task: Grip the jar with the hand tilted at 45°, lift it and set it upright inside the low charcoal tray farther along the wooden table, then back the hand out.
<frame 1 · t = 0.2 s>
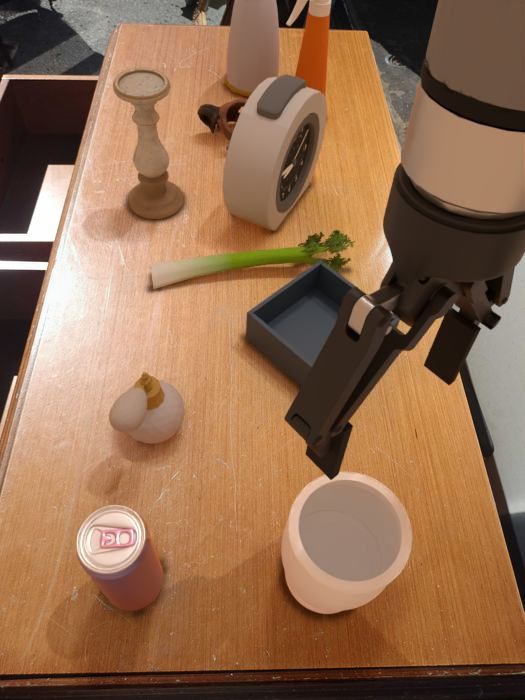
hand: (384, 416, 44), 23 cm above the dresser, tool pointing down, fingers open, 13 cm apart
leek: (253, 274, 83), on the dresser
perfume bottle: (155, 433, 68), on the dresser
soap bottle: (252, 84, 113), on the dresser
jar: (323, 572, 59), on the dresser
tray: (318, 341, 77), on the dresser
spray bottle: (298, 120, 107), on the dresser
candle holder: (156, 202, 91), on the dresser
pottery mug: (230, 139, 102), on the dresser
beverage can: (135, 581, 58), on the dresser
alarm clock: (272, 200, 93), on the dresser
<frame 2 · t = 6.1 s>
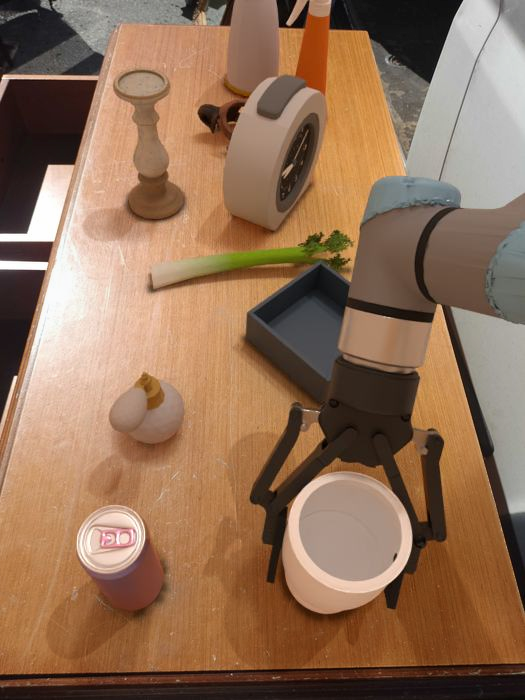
hand: (329, 587, 53), 6 cm above the dresser, tool tilted 45°, fingers closed on jar, 11 cm apart
jar: (324, 572, 59), on the dresser, touching gripper
everything else where it was.
when the fingers open (7 cm above the dresser, at t = 17.6 s): jar stays where it is, resting on tray.
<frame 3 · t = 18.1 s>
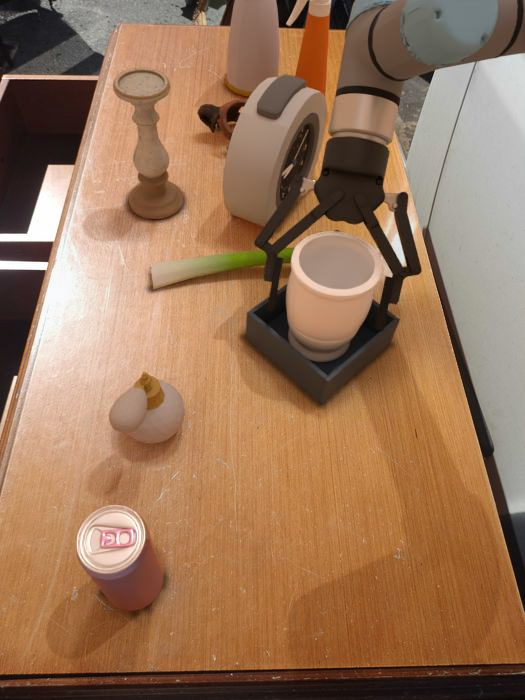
hand: (324, 319, 69), 8 cm above the dresser, tool tilted 45°, fingers open, 13 cm apart
jar: (318, 338, 76), resting on tray
everything else where it was.
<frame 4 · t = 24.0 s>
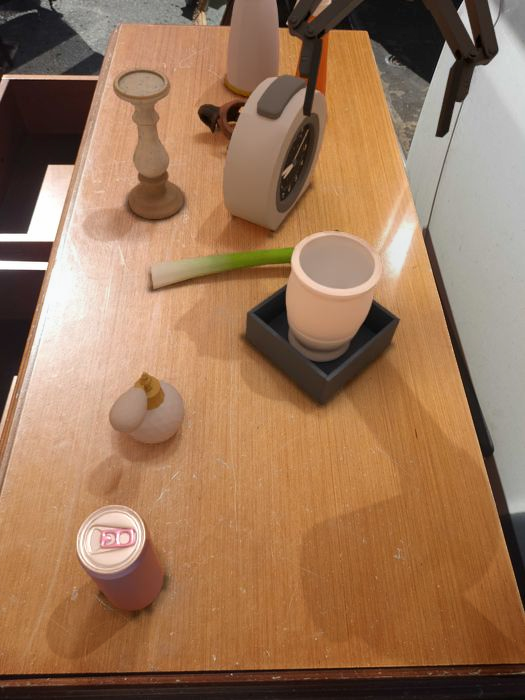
hand: (373, 123, 56), 30 cm above the dresser, tool tilted 45°, fingers open, 13 cm apart
nothing on the dresser moved.
at the end: jar inside the target area in the tray (0.0 cm from its centre), point 0.4 cm above the tray's base; jar tilted 0°; the gripper is holding nothing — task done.
